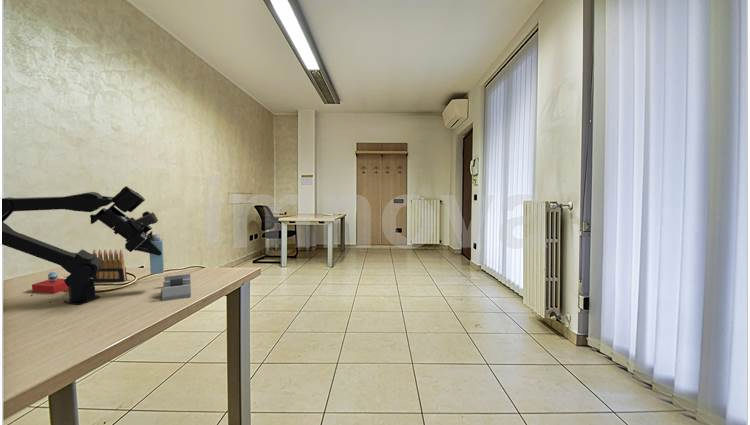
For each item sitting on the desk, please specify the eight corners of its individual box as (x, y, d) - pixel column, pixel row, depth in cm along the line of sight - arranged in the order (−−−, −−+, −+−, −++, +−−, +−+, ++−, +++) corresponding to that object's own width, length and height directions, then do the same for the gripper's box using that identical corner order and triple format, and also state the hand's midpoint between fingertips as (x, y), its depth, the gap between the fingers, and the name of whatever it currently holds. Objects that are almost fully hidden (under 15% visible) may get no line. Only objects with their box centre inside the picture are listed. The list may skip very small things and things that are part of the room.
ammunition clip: (127, 280, 125) (125, 248, 124) (124, 281, 124) (122, 250, 122) (95, 280, 124) (93, 248, 122) (92, 282, 122) (89, 250, 121)
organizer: (162, 300, 108) (161, 282, 107) (165, 286, 120) (164, 270, 120) (190, 297, 112) (190, 279, 111) (190, 283, 124) (190, 267, 123)
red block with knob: (74, 287, 117) (73, 269, 116) (54, 294, 111) (52, 275, 110) (54, 285, 118) (52, 268, 117) (32, 292, 111) (30, 274, 111)
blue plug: (150, 274, 113) (148, 236, 111) (151, 271, 116) (149, 234, 114) (163, 273, 114) (161, 235, 113) (163, 270, 118) (162, 233, 116)
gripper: (136, 208, 102) (179, 241, 109) (143, 201, 118) (180, 230, 125) (105, 235, 99) (151, 267, 106) (116, 224, 116) (156, 253, 122)
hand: (161, 253), depth 115 cm, fingers closed on blue plug, 4 cm apart
